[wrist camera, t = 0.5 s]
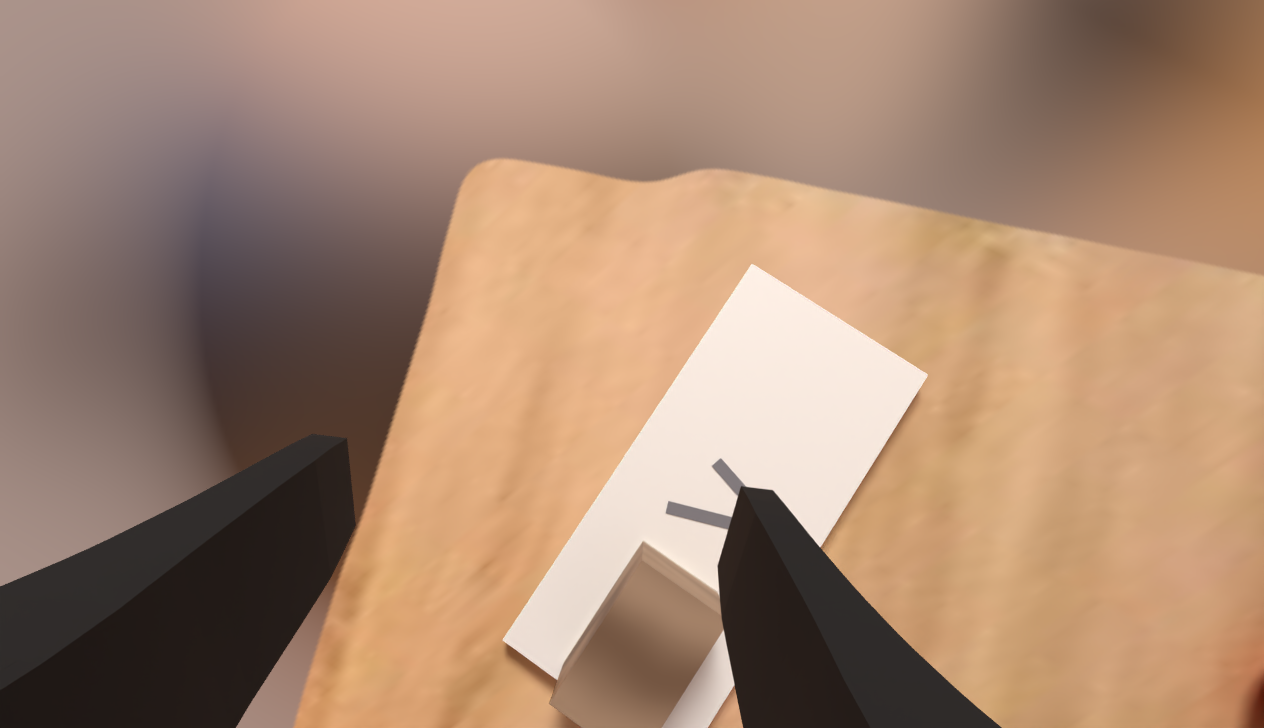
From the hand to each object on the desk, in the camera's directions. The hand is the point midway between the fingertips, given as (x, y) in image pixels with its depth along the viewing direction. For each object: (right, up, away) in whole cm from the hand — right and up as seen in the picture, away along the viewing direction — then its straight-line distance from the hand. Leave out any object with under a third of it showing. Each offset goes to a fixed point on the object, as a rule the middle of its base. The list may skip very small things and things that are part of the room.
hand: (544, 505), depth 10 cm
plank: (+7, -6, +22) cm, 24 cm away
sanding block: (+2, -12, +21) cm, 24 cm away
